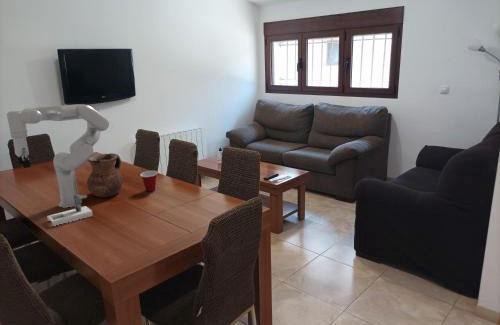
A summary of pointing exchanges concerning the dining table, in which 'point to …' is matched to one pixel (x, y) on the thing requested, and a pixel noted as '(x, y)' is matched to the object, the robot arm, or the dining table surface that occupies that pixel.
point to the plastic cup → (149, 180)
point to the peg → (77, 203)
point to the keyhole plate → (69, 216)
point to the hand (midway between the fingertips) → (24, 165)
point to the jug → (105, 175)
